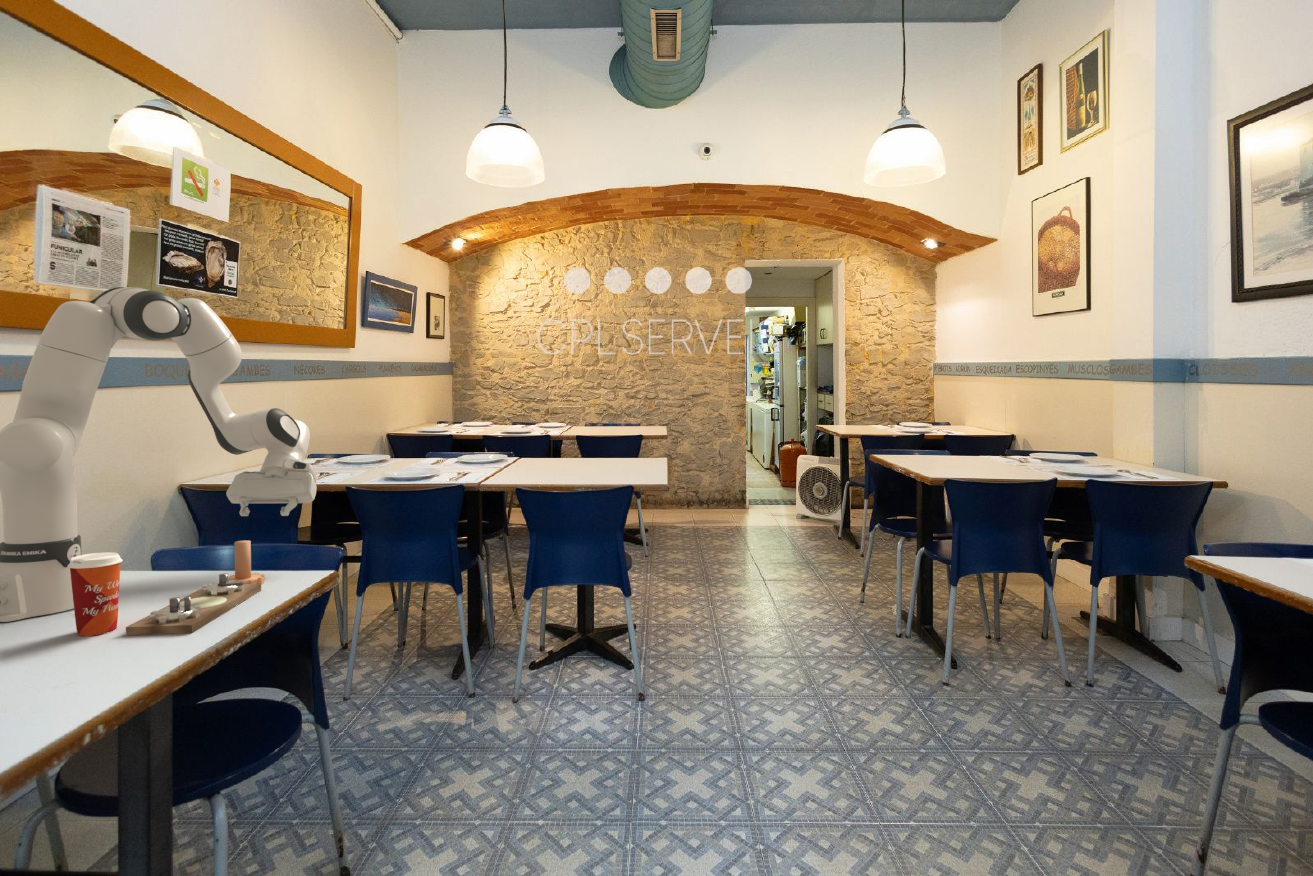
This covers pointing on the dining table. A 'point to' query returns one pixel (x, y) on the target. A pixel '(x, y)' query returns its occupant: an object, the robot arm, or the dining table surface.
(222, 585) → the gear
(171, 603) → the gear
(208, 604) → the gear board
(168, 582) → the dining table surface
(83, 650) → the dining table surface
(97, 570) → the paper cup
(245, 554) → the idler gear
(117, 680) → the dining table surface
